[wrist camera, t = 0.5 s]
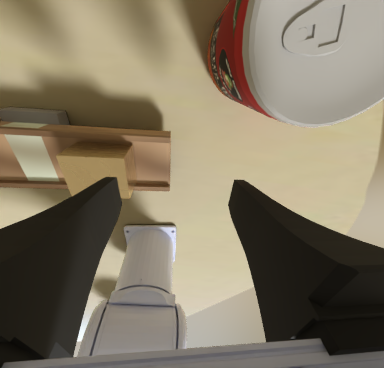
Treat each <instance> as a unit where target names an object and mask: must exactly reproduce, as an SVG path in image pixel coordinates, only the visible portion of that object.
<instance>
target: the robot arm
mask: <svg viewBox="0 0 384 368" xmlns="http://www.w3.org/2000/svg"><path fill="white" fill-rule="evenodd" d="M121 206H122V201H121V196H120V191H119V186H118V181H117V177H105V178H103V179H101V180H99V181H97V182H96V183H94V184H92V185H91V186H89V187H87V188H86V189H84V190H82V191H81V192H79V193H77V194H75V195H74V196H72V197H70V198H68V199H66V200H64V201H63V202H61V203H59V204H57V205H55V206H53V207H51V208H49V209H47V210H45V211H43V212H41V213H38V214H36V215H34V216H32V217H29V218H27V219H24V220H22V221H19V222H17V223H14V224H12V225H9V226H7V227H4V228H2V229H0V368H384V248H381V247H378V246H375V245H372V244H369V243H366V242H362V241H360V240H357V239H354V238H351V237H348V236H346V235H343V234H341V233H338V232H336V231H333V230H331V229H328V228H326V227H324V226H322V225H319V224H317V223H315V222H313V221H310V220H308V219H306V218H304V217H302V216H300V215H299V214H297V213H295V212H293V211H291V210H289V209H287V208H286V207H284V206H282V205H281V204H279V203H278V202H276V201H274V200H273V199H271V198H270V197H268V196H267V195H265V194H264V193H262V192H261V191H260V190H258V189H257V188H255V187H254V186H252V185H251V184H249V183H248V182H246V181H244V180H234V183H233V187H232V192H231V196H230V200H229V204H228V206H229V210H230V214H231V218H232V221H233V224H234V226H235V229H236V231H237V234H238V236H239V239H240V241H241V244H242V246H243V249H244V251H245V254H246V257H247V261H248V264H249V268H250V271H251V275H252V279H253V283H254V287H255V291H256V295H257V299H258V304H259V308H260V313H261V317H262V323H263V327H264V332H265V338H266V342H265V343H252V344H239V345H226V346H213V347H200V348H188V349H186V345H187V326H186V317H185V313H184V311H183V309H182V308H181V306H180V304H175V294H172V269H173V262H175V246H176V226H173V225H126V226H124V233H125V238H126V243H127V250H126V253H125V257H124V260H123V263H122V267H121V270H120V273H119V277H118V280H117V284H116V287H115V290H114V291H112V292H111V295H110V299H109V301H107V300H103V301H102V302H101V303H100V304H99V305H98V306H96V308H95V309H94V311H93V313H92V315H91V318H90V320H89V322H88V325H87V328H86V330H85V333H84V336H83V339H82V343H81V346H80V349H79V353H78V356H77V357H73V355H74V350H75V346H76V342H77V338H78V334H79V330H80V326H81V322H82V318H83V315H84V311H85V307H86V304H87V300H88V296H89V293H90V290H91V286H92V283H93V280H94V277H95V274H96V270H97V267H98V264H99V261H100V258H101V256H102V253H103V251H104V249H105V247H106V244H107V242H108V240H109V238H110V235H111V233H112V231H113V229H114V226H115V224H116V222H117V220H118V217H119V214H120V210H121ZM127 230H128V231H127Z"/></svg>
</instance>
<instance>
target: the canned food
mask: <svg viewBox="0 0 384 368" xmlns="http://www.w3.org/2000/svg"><path fill="white" fill-rule="evenodd" d="M208 67H209V72H210V75H211V78H212V80H213V82H214V84H215V85H216V87H217V88H218V90H219V91H220V92H221V93H222V94H224V95H225V96H227V97H228V98H230V99H232V100H234V101H236V102H238V103H240V104H243V105H245V106H247V107H249V108H251V109H253V110H255V111H257V112H260V113H262V114H264V115H266V116H268V117H270V118H273V119H276V120H278V121H280V122H284V123H287V124H291V125H296V126H299V127H322V126H329V125H333V124H336V123H339V122H342V121H345V120H348V119H350V118H352V117H354V116H356V115H359V114H361V113H363V112H365V111H366V110H368V109H369V108H371V107H372V106H374V105H376V104H377V103H379V102H380V101H382V100H383V99H384V0H230V2H229V3H228V5H227V6H226V8H225V9H224V11H223V12H222V14H221V15H220V17H219V18H218V20H217V22H216V24H215V26H214V28H213V31H212V33H211V37H210V41H209V46H208Z"/></svg>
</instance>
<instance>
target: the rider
mask: <svg viewBox="0 0 384 368" xmlns="http://www.w3.org/2000/svg"><path fill="white" fill-rule="evenodd" d="M56 158H57V160H58V163H59V165H60V168H61V171H62V173H63V176H64V178H65V181H66V183H67V186H68V189H69V191H70V194H71V196H74V195H75V194H77V193H79V192H81V191H82V190H84V189H86V188H87V187H89V186H91V185H92V184H94V183H96V182H97V181H99V180H101V179H103V178H105V177H117V181H118V186H119V191H120V196H121V198H127V199H130V197H131V194H132V192H133V189H134V187H135V184H136V182H137V176H136V167H135V158H134V150H133V145H131V144H112V143H93V142H76V143H74V144H73V145H71V146H70V147H68V148H67V149H65V150H64V151H62V152H61V153H59V154H58V155H56Z"/></svg>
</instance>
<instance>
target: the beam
mask: <svg viewBox="0 0 384 368" xmlns="http://www.w3.org/2000/svg"><path fill="white" fill-rule="evenodd" d="M0 118H1V120H2V121H0V187H14V188H55V189H68V186H67V183H66V181H65V178H64V176H63V173H62V171H61V168H60V165H59V163H58V160H57V158H56V155H58V154H59V153H61V152H62V151H64V150H65V149H67V148H68V147H70V146H71V145H73V144H74V143H76V142H93V143H112V144H131V145H133V150H134V158H135V167H136V176H137V182H136V184H135V187H134V189H133V190H138V191H169V190H170V145H171V131H154V130H138V129H121V128H105V127H88V126H72V125H70V124H69V120H68V117H67V114H66V111H62V110H47V109H33V108H18V107H7V108H2V109H0Z"/></svg>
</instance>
